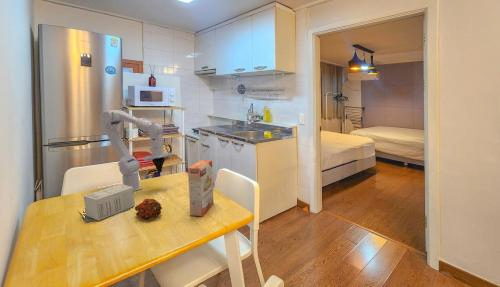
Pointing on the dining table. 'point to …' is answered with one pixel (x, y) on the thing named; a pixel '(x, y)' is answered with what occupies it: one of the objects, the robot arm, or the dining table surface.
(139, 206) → the reddish-brown bumpy oval
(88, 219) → the mat
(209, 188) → the cracker box
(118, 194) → the supplement box
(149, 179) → the dining table surface
